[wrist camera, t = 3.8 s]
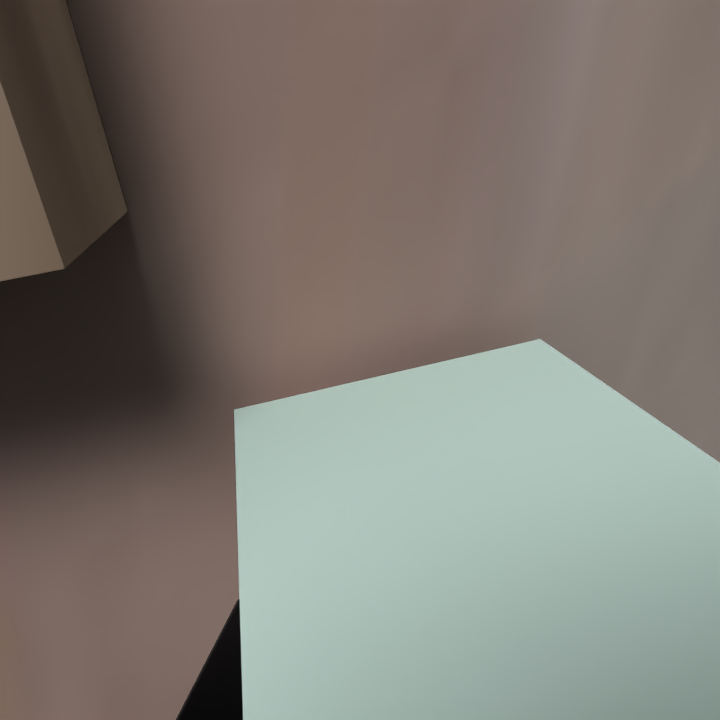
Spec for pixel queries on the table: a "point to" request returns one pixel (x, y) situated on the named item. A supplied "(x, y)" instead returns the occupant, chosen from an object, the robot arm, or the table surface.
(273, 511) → the sage block
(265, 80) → the table surface
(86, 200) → the tan flat block
